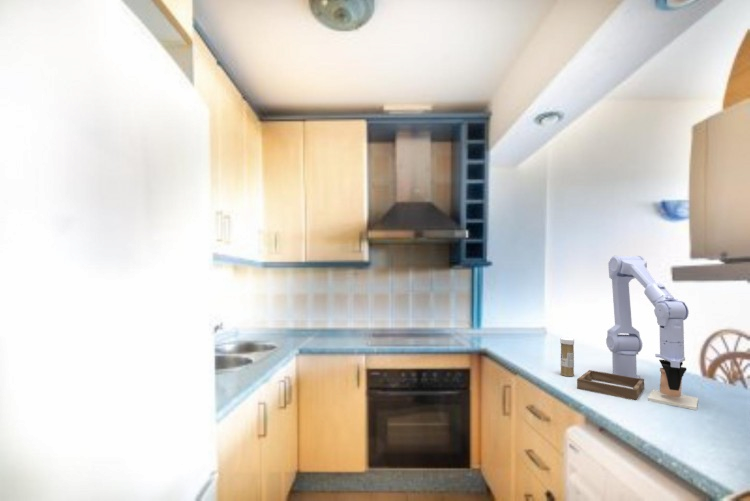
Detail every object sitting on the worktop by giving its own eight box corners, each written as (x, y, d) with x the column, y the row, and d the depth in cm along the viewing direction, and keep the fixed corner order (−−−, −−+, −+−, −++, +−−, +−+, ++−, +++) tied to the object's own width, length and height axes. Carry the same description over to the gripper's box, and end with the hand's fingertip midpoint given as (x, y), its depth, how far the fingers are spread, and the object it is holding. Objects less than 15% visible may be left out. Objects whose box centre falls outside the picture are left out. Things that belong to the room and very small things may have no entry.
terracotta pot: (657, 389, 117) (659, 366, 117) (680, 394, 114) (682, 370, 114) (659, 393, 112) (661, 370, 112) (683, 399, 109) (685, 374, 109)
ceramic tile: (652, 392, 120) (652, 389, 120) (698, 400, 113) (697, 397, 113) (647, 400, 112) (647, 397, 112) (696, 410, 105) (696, 407, 105)
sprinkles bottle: (557, 373, 140) (557, 337, 141) (569, 373, 141) (569, 337, 142) (565, 377, 136) (564, 339, 137) (577, 376, 136) (576, 339, 137)
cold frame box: (589, 378, 134) (589, 370, 135) (644, 388, 124) (644, 379, 124) (577, 388, 123) (577, 379, 123) (636, 400, 112) (636, 390, 112)
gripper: (653, 336, 122) (654, 379, 121) (657, 343, 109) (658, 391, 109) (681, 338, 118) (682, 383, 117) (688, 346, 106) (690, 395, 105)
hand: (672, 387), depth 113 cm, fingers closed on terracotta pot, 5 cm apart
